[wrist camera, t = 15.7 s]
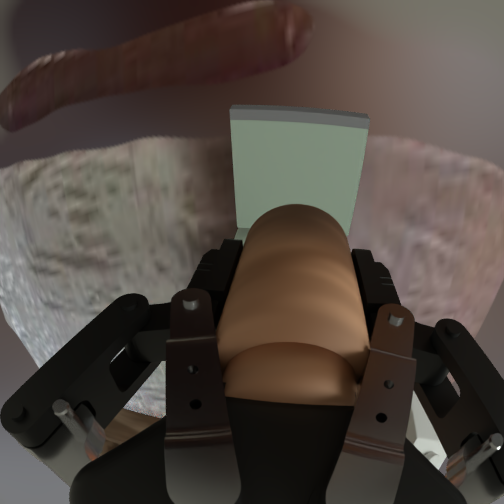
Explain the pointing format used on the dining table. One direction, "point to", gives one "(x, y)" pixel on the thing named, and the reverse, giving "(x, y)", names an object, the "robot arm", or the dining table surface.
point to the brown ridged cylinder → (294, 313)
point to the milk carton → (424, 434)
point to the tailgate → (296, 159)
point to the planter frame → (125, 428)
